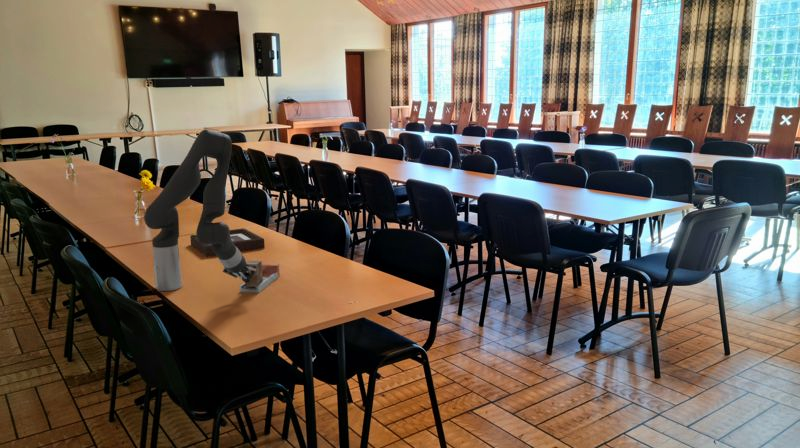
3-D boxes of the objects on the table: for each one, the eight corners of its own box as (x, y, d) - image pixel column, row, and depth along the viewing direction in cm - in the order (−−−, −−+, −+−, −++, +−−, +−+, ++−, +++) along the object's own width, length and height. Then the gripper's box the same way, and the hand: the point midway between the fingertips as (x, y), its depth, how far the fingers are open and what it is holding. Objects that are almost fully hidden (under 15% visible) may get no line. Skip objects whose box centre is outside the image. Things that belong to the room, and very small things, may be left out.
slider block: (257, 287, 231) (256, 264, 229) (245, 286, 232) (243, 263, 230) (262, 283, 236) (261, 260, 234) (250, 282, 237) (249, 260, 235)
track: (258, 293, 229) (257, 280, 228) (239, 292, 230) (238, 279, 229) (279, 276, 250) (279, 264, 249) (262, 275, 251) (261, 263, 250)
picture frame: (206, 244, 279) (189, 232, 303) (207, 258, 280) (190, 245, 305) (264, 236, 294) (244, 225, 318) (265, 249, 295) (244, 237, 320)
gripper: (251, 249, 214) (266, 272, 229) (216, 248, 217) (234, 271, 231) (246, 268, 210) (262, 290, 225) (210, 266, 213) (228, 288, 227)
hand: (247, 280), depth 228 cm, fingers closed
